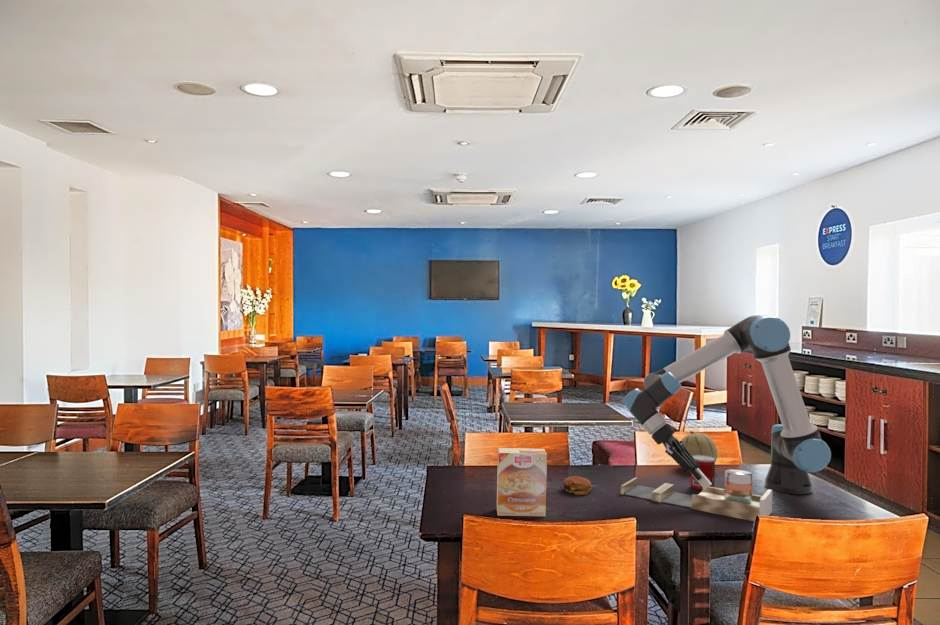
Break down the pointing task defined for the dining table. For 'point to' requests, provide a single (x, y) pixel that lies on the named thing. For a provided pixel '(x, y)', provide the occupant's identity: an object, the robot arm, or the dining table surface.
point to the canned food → (704, 470)
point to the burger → (577, 485)
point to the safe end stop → (764, 503)
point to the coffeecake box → (521, 482)
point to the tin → (738, 486)
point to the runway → (693, 499)
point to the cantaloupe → (700, 445)
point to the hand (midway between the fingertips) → (708, 486)
